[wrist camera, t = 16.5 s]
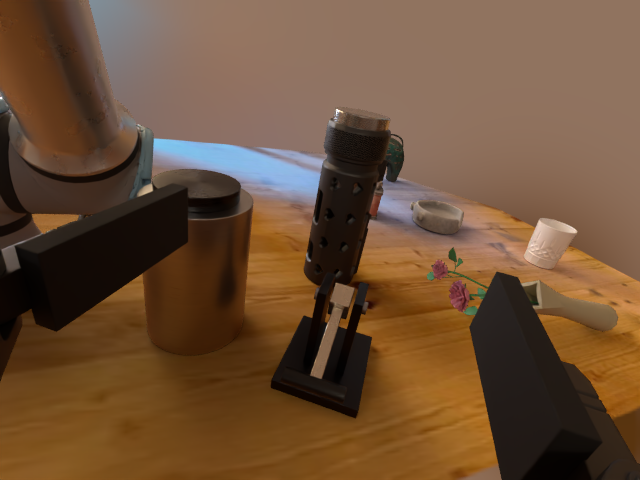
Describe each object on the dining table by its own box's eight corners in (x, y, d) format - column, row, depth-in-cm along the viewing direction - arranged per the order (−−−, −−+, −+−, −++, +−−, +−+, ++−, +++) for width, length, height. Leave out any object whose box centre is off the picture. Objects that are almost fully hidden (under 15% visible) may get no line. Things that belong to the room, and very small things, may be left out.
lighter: (362, 207, 95) (370, 172, 91) (374, 209, 96) (382, 175, 91) (365, 218, 88) (374, 182, 84) (378, 220, 88) (387, 184, 84)
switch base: (355, 418, 37) (383, 337, 31) (270, 387, 38) (282, 305, 33) (369, 344, 47) (392, 274, 42) (302, 322, 49) (315, 252, 43)
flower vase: (578, 371, 61) (423, 341, 49) (543, 312, 70) (404, 275, 58) (645, 340, 54) (482, 296, 42) (596, 279, 62) (449, 228, 50)
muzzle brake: (349, 260, 67) (298, 258, 64) (385, 113, 54) (324, 103, 52) (364, 289, 59) (307, 288, 56) (411, 124, 46) (340, 113, 43)
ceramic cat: (350, 179, 118) (363, 120, 109) (344, 173, 123) (356, 116, 114) (399, 183, 124) (416, 128, 115) (391, 177, 130) (406, 124, 121)
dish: (457, 221, 98) (463, 206, 96) (463, 241, 86) (471, 223, 84) (407, 209, 100) (412, 194, 98) (407, 227, 88) (413, 209, 86)
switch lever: (341, 408, 31) (344, 398, 29) (280, 386, 32) (280, 375, 30) (367, 305, 39) (371, 292, 38) (318, 290, 40) (320, 277, 39)
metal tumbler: (213, 368, 39) (219, 215, 30) (124, 336, 41) (105, 183, 32) (257, 308, 50) (271, 181, 41) (184, 285, 51) (183, 158, 43)
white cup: (542, 272, 78) (564, 233, 73) (514, 254, 84) (532, 218, 80) (563, 269, 81) (584, 232, 77) (534, 252, 87) (552, 217, 83)
